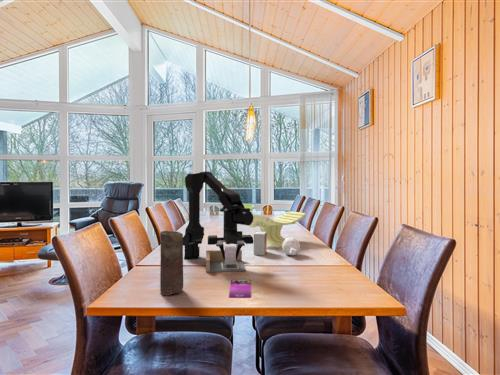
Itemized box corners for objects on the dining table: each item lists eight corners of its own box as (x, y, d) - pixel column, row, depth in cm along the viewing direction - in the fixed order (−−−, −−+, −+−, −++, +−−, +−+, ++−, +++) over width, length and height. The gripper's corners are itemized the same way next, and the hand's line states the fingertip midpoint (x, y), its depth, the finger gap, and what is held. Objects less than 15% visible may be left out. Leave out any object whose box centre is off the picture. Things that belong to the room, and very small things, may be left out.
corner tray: (205, 272, 117) (206, 260, 117) (206, 261, 133) (206, 250, 133) (245, 271, 120) (245, 258, 119) (241, 260, 135) (241, 249, 135)
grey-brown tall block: (162, 287, 100) (163, 229, 100) (184, 287, 101) (184, 229, 101) (157, 296, 93) (157, 233, 92) (181, 296, 93) (181, 233, 93)
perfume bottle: (278, 248, 151) (281, 257, 139) (284, 232, 150) (288, 240, 138) (294, 253, 152) (298, 263, 140) (300, 237, 150) (305, 245, 139)
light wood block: (223, 259, 130) (223, 243, 129) (234, 259, 130) (234, 243, 130) (224, 264, 122) (225, 247, 122) (235, 264, 122) (235, 247, 122)
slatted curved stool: (286, 238, 187) (287, 210, 186) (305, 243, 174) (305, 213, 174) (248, 244, 169) (248, 213, 169) (266, 249, 156) (266, 216, 156)
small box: (264, 255, 144) (264, 234, 144) (253, 255, 146) (253, 233, 145) (266, 251, 152) (267, 231, 152) (256, 251, 153) (256, 231, 153)
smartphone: (250, 282, 108) (250, 279, 108) (251, 298, 93) (251, 296, 93) (231, 282, 108) (231, 279, 108) (228, 298, 93) (228, 295, 93)
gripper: (207, 226, 113) (207, 266, 114) (255, 225, 116) (255, 264, 116) (207, 222, 124) (207, 258, 125) (251, 221, 127) (251, 257, 128)
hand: (230, 260), depth 123 cm, fingers closed on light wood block, 4 cm apart
